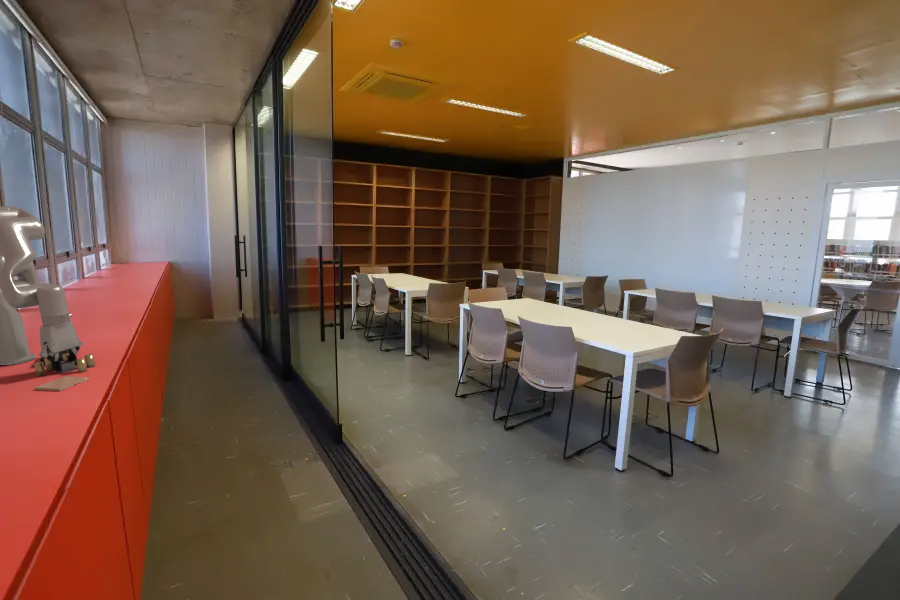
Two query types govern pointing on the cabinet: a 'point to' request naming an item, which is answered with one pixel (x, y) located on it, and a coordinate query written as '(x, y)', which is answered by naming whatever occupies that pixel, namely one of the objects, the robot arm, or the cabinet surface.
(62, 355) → the black sponge
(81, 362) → the brass standoffs
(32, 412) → the cabinet surface
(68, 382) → the tan tile
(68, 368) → the steel nut
